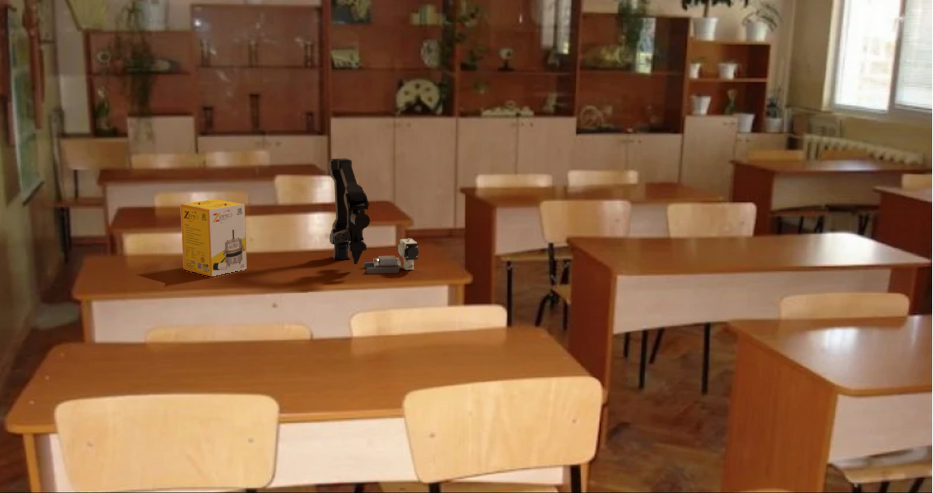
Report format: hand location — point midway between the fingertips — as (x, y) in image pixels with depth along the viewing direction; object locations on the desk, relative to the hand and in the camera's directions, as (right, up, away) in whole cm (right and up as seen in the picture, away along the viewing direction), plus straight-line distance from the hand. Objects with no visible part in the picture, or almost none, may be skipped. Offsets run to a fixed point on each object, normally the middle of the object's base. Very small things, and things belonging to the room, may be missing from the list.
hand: (355, 264), depth 337 cm
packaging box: (-52, -2, -2) cm, 52 cm away
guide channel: (+10, -2, +3) cm, 10 cm away
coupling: (+12, -2, +3) cm, 12 cm away
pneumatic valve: (+19, -2, +5) cm, 20 cm away
